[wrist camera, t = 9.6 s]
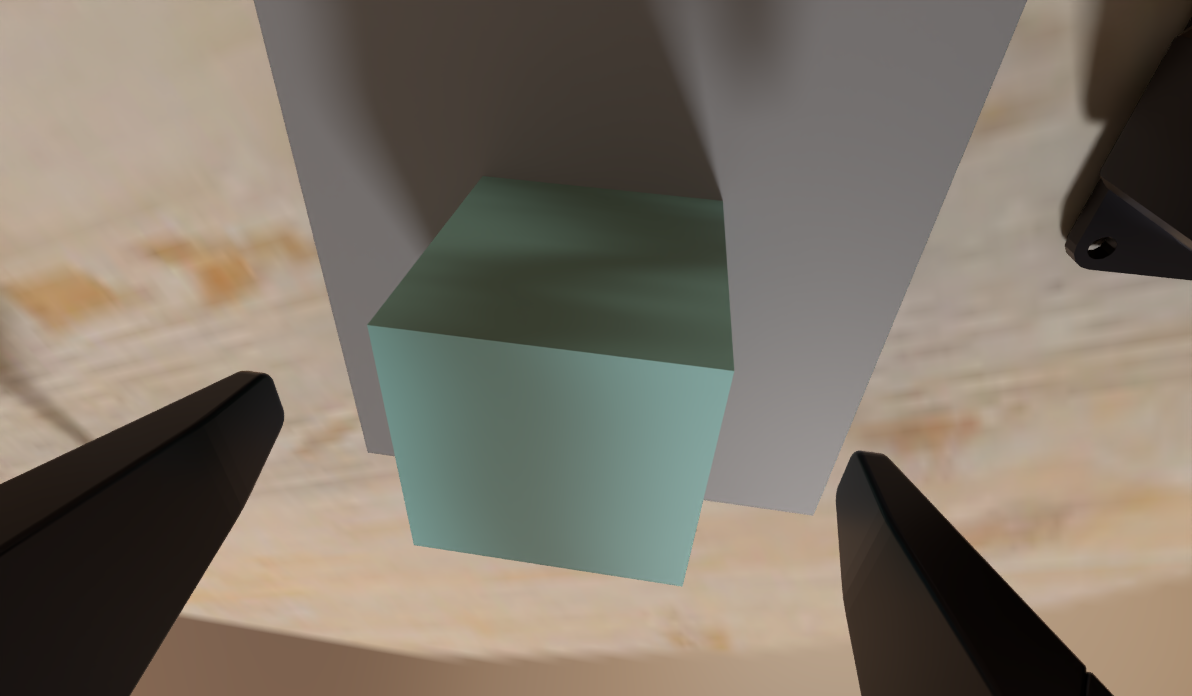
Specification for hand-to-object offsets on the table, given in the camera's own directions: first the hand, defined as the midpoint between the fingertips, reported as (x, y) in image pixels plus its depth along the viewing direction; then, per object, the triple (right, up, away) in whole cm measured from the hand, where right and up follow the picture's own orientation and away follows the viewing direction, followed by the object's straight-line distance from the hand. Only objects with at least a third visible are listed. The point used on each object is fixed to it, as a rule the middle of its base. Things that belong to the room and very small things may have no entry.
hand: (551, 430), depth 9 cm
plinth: (+1, +4, +5) cm, 7 cm away
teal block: (+1, +2, +3) cm, 4 cm away
